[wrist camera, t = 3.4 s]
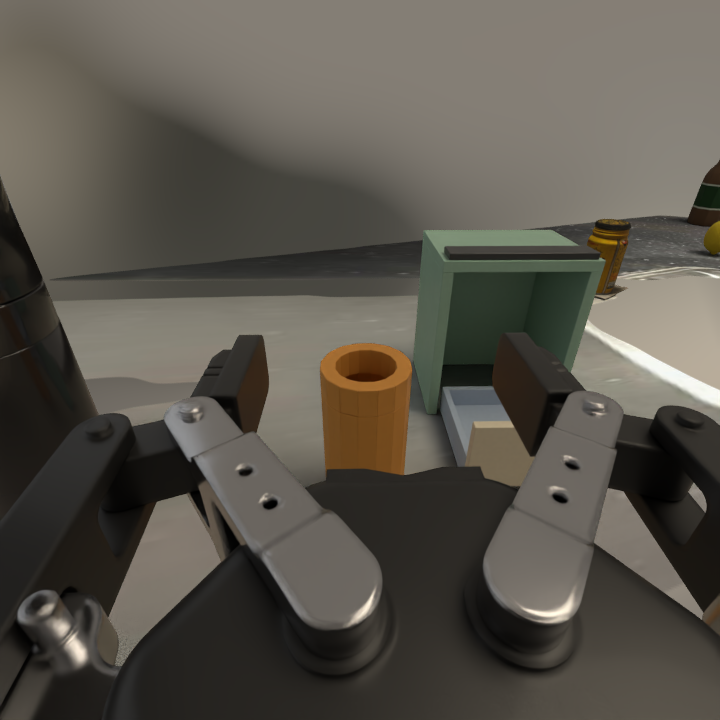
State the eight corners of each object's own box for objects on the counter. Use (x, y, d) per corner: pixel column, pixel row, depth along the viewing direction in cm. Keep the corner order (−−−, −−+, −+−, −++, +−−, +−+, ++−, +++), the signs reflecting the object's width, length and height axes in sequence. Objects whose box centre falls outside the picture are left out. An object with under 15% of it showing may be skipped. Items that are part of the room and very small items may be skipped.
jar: (326, 531, 31) (317, 391, 24) (329, 472, 36) (323, 343, 30) (405, 530, 31) (417, 390, 25) (397, 471, 36) (405, 342, 30)
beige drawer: (463, 487, 34) (475, 427, 31) (439, 408, 44) (446, 355, 40) (595, 485, 35) (620, 425, 31) (543, 406, 44) (558, 354, 41)
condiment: (564, 287, 75) (583, 220, 69) (588, 278, 80) (608, 214, 74) (604, 300, 70) (628, 228, 64) (628, 289, 75) (652, 221, 69)
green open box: (427, 414, 43) (444, 254, 35) (413, 361, 53) (424, 224, 44) (558, 412, 44) (608, 253, 35) (520, 360, 53) (553, 224, 44)
